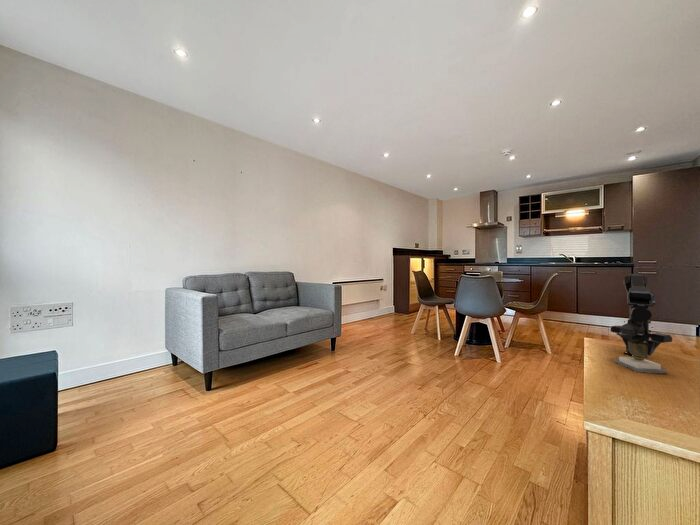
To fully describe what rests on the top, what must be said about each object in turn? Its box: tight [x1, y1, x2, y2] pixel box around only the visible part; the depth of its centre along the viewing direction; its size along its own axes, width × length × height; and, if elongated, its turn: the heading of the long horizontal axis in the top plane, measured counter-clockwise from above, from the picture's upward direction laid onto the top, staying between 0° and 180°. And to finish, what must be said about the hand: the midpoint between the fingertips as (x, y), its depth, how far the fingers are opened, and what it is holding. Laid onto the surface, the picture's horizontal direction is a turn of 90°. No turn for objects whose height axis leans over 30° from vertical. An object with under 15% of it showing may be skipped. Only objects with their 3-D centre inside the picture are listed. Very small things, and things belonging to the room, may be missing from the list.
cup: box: [627, 340, 649, 360], centre depth 121 cm, size 8×7×8 cm
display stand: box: [613, 356, 668, 374], centre depth 121 cm, size 12×11×3 cm
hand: (639, 352), depth 121 cm, fingers open, 7 cm apart
